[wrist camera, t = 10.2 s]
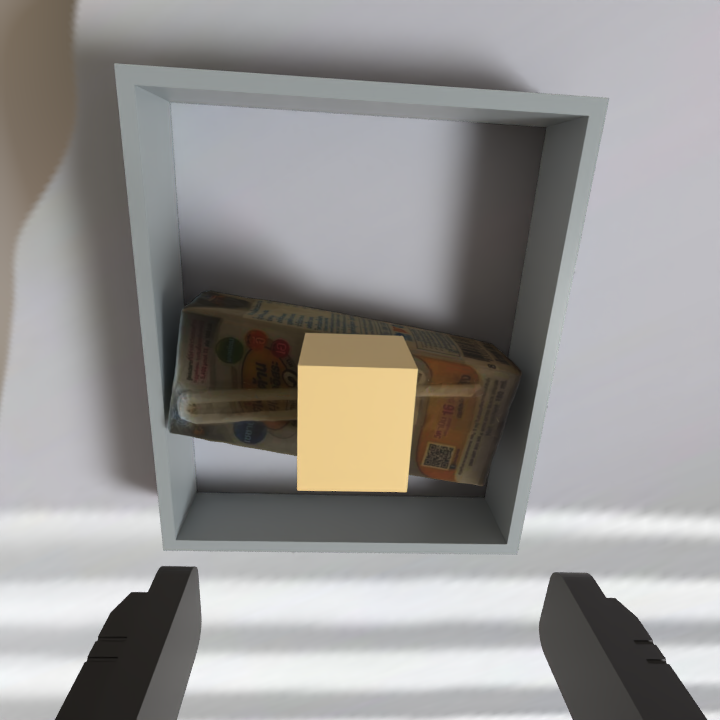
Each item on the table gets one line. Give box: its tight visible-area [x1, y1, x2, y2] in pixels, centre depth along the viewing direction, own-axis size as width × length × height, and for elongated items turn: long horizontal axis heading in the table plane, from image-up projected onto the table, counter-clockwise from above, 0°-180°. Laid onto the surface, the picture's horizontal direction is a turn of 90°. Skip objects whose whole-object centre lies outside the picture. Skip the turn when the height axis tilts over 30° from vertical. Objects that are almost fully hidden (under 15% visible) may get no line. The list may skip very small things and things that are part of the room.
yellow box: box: [297, 333, 418, 492], centre depth 24 cm, size 6×5×5 cm
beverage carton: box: [168, 291, 522, 486], centre depth 30 cm, size 8×19×7 cm, turn 78°
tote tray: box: [114, 63, 609, 555], centre depth 29 cm, size 27×23×5 cm
